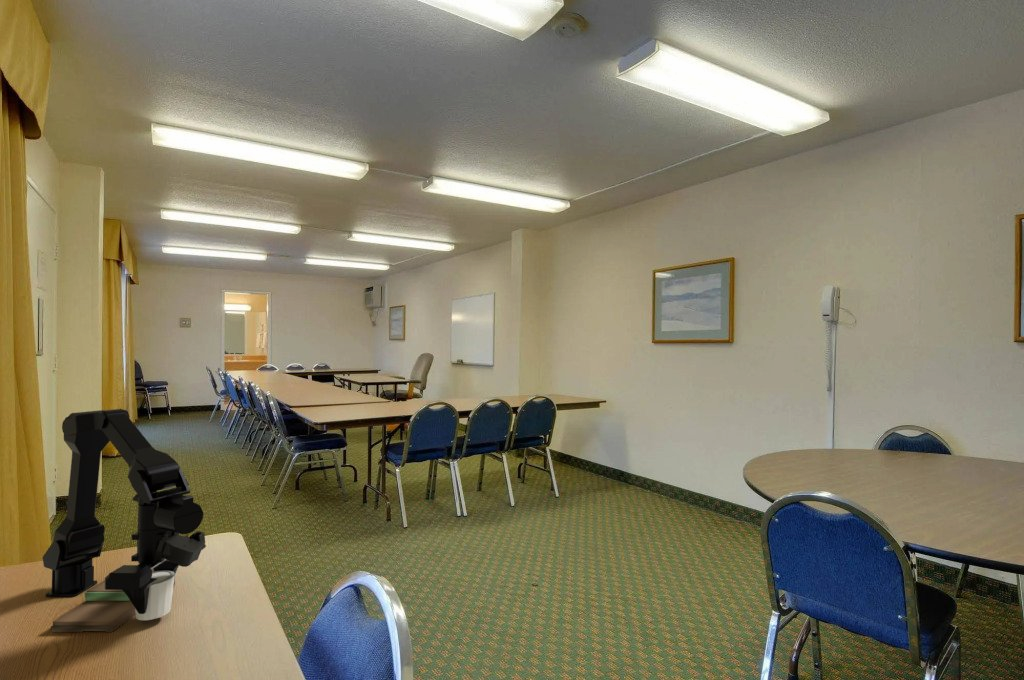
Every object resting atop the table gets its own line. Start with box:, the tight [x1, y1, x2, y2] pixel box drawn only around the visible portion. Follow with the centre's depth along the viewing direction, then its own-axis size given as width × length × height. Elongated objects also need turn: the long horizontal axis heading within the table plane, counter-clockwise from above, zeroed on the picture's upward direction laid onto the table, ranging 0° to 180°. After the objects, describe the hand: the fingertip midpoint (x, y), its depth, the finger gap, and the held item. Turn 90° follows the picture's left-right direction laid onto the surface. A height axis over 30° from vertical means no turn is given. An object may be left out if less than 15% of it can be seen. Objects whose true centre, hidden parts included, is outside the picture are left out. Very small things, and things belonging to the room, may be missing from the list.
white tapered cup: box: [135, 570, 176, 621], centre depth 102 cm, size 7×7×7 cm
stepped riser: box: [50, 569, 176, 633], centre depth 107 cm, size 11×19×4 cm, turn 2°
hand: (153, 604), depth 102 cm, fingers closed on white tapered cup, 6 cm apart
